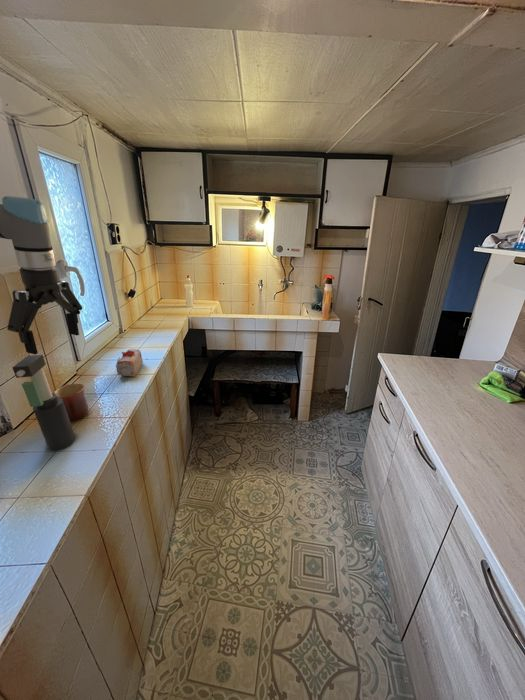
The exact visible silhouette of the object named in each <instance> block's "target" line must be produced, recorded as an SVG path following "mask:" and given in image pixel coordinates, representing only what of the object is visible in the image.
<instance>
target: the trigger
mask: <svg viewBox="0 0 525 700" xmlns="http://www.w3.org/2000/svg"><path fill="white" fill-rule="evenodd" d="M21 387H22V389H23V391H24V394H25V397H26V398H27V401H28V403H29V406H30V408H33V407H35V406H42V405H43V404H44V403H43V400H42V397H41V395H40V392H39V390H38V387H37V384H36V382H35V381H31V380H30V381H24V382H23V383H21Z"/></svg>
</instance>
